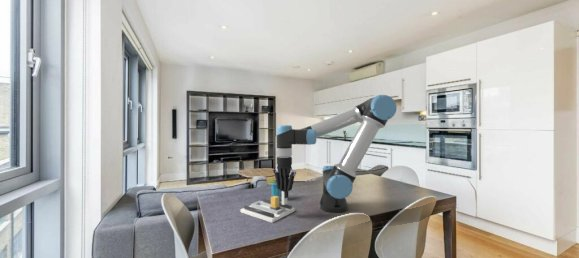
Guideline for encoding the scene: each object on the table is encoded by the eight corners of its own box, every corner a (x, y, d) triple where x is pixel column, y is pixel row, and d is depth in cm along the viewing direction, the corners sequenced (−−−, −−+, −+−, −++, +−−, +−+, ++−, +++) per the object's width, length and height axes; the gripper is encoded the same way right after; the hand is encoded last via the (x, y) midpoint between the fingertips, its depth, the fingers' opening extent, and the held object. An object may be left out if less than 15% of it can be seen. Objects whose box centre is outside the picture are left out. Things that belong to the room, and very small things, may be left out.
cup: (287, 197, 148) (287, 173, 147) (290, 200, 140) (290, 176, 140) (265, 198, 144) (265, 174, 144) (267, 202, 137) (267, 177, 136)
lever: (279, 210, 120) (279, 197, 120) (276, 212, 118) (276, 198, 117) (273, 208, 122) (273, 195, 122) (270, 210, 120) (270, 197, 120)
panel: (294, 211, 124) (294, 205, 124) (272, 222, 109) (272, 215, 109) (264, 202, 137) (264, 197, 137) (240, 212, 123) (240, 205, 122)
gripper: (299, 156, 115) (299, 204, 115) (279, 154, 123) (279, 199, 123) (290, 158, 109) (290, 209, 109) (269, 156, 117) (269, 203, 117)
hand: (284, 203), depth 116 cm, fingers closed
